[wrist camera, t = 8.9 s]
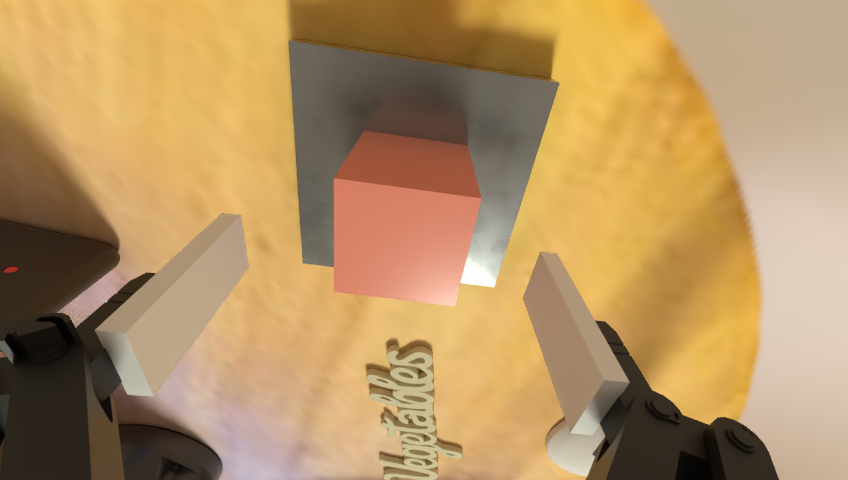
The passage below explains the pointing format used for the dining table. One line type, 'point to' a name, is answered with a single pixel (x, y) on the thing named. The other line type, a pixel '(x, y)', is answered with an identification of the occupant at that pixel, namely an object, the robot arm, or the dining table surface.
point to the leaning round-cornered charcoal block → (46, 270)
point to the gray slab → (414, 133)
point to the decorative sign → (417, 401)
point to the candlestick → (573, 448)
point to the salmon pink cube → (404, 218)
